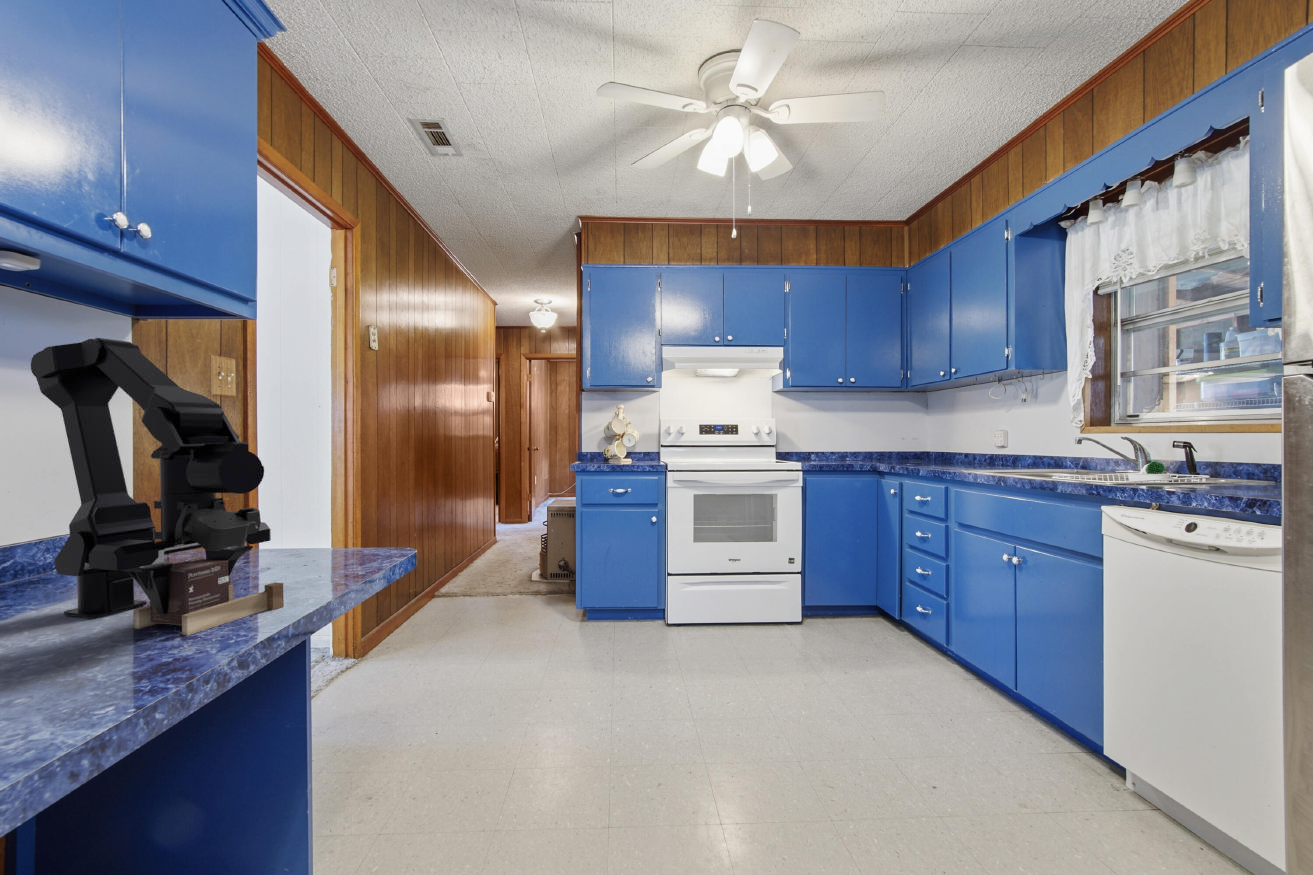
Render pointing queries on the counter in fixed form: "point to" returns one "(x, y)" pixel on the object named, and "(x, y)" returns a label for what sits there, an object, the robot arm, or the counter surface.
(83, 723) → the counter surface
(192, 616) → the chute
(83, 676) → the counter surface
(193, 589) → the box
